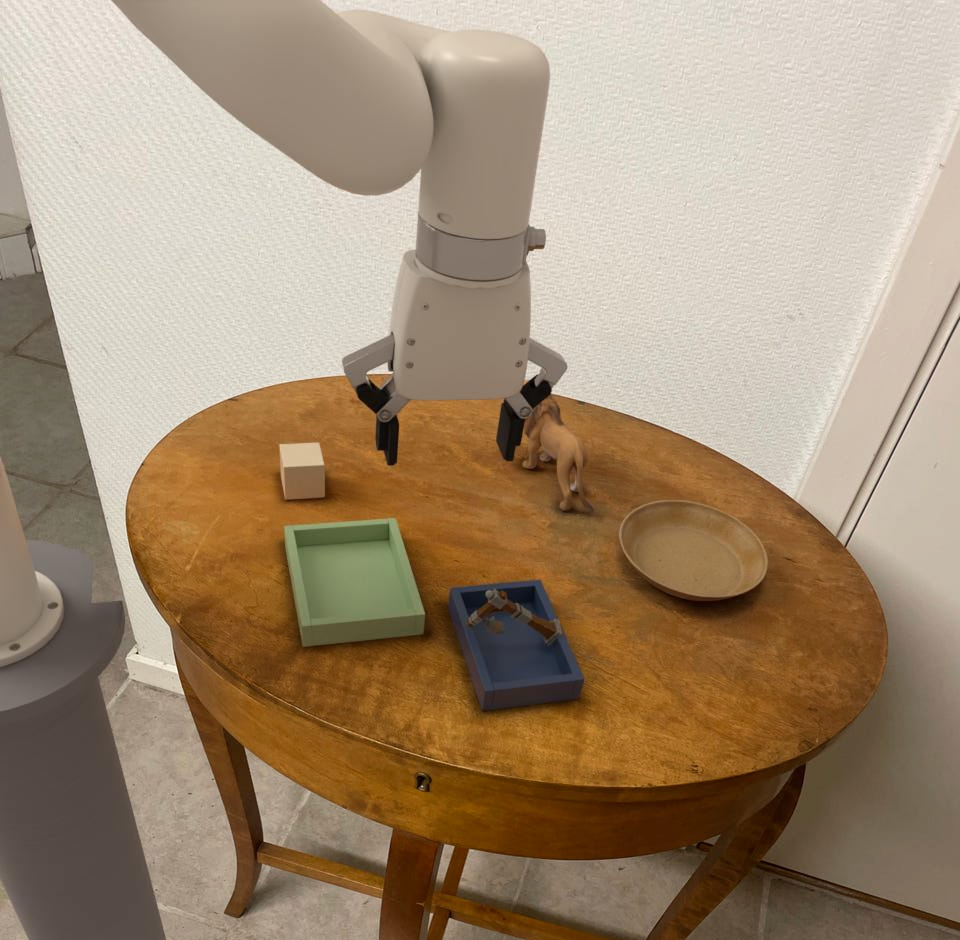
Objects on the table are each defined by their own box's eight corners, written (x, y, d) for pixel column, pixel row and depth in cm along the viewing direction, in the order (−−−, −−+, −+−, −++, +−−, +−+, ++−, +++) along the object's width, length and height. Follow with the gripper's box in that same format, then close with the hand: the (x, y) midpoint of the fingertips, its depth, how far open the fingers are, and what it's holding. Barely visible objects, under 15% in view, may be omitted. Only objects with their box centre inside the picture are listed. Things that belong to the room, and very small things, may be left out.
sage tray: (302, 647, 81) (301, 626, 79) (285, 546, 90) (284, 525, 88) (423, 634, 84) (425, 614, 82) (394, 537, 93) (395, 517, 91)
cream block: (285, 500, 95) (283, 467, 92) (280, 476, 98) (279, 444, 95) (325, 497, 96) (324, 464, 93) (319, 474, 99) (319, 442, 96)
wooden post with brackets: (457, 611, 81) (491, 579, 79) (525, 648, 85) (560, 617, 83) (459, 626, 80) (494, 593, 77) (528, 662, 84) (563, 632, 82)
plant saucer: (790, 594, 93) (799, 574, 91) (669, 632, 87) (676, 612, 86) (701, 508, 102) (708, 488, 100) (586, 537, 96) (591, 516, 94)
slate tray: (481, 711, 78) (485, 691, 76) (447, 607, 87) (449, 587, 85) (579, 699, 80) (584, 679, 79) (536, 599, 89) (540, 579, 87)
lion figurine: (491, 450, 105) (501, 378, 99) (529, 439, 108) (541, 367, 102) (574, 523, 98) (590, 449, 91) (612, 509, 100) (631, 436, 94)
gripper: (572, 225, 70) (536, 425, 82) (337, 219, 66) (335, 431, 78) (605, 270, 65) (560, 477, 77) (352, 266, 61) (347, 485, 73)
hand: (447, 453), depth 77 cm, fingers open, 9 cm apart
